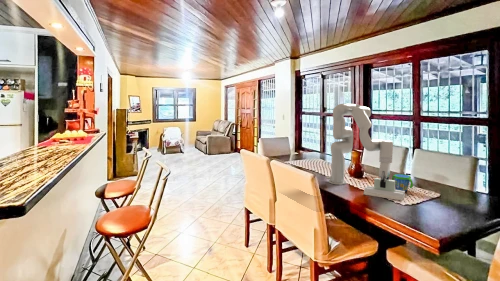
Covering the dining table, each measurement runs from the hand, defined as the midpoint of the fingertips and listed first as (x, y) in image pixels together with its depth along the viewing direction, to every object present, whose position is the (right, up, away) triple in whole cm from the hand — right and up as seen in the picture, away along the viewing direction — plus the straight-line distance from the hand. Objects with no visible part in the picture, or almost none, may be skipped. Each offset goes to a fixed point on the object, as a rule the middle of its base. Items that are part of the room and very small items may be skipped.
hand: (384, 186), depth 194 cm
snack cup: (+18, -5, +14) cm, 23 cm away
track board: (0, -6, +1) cm, 6 cm away
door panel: (0, -5, 0) cm, 5 cm away
